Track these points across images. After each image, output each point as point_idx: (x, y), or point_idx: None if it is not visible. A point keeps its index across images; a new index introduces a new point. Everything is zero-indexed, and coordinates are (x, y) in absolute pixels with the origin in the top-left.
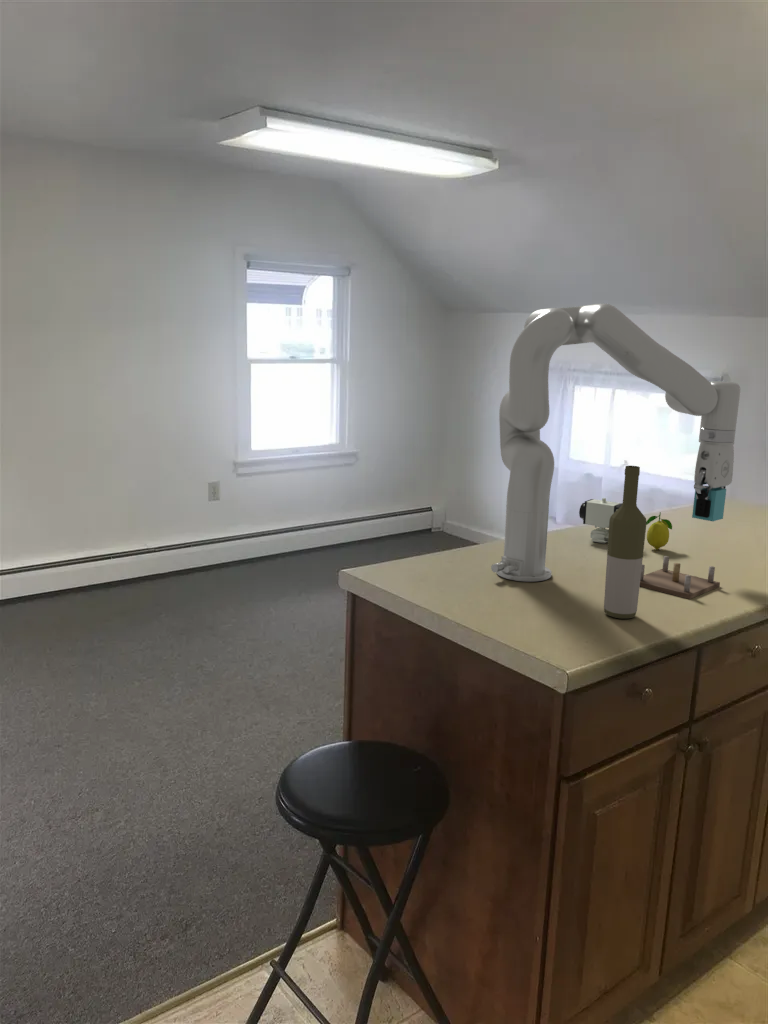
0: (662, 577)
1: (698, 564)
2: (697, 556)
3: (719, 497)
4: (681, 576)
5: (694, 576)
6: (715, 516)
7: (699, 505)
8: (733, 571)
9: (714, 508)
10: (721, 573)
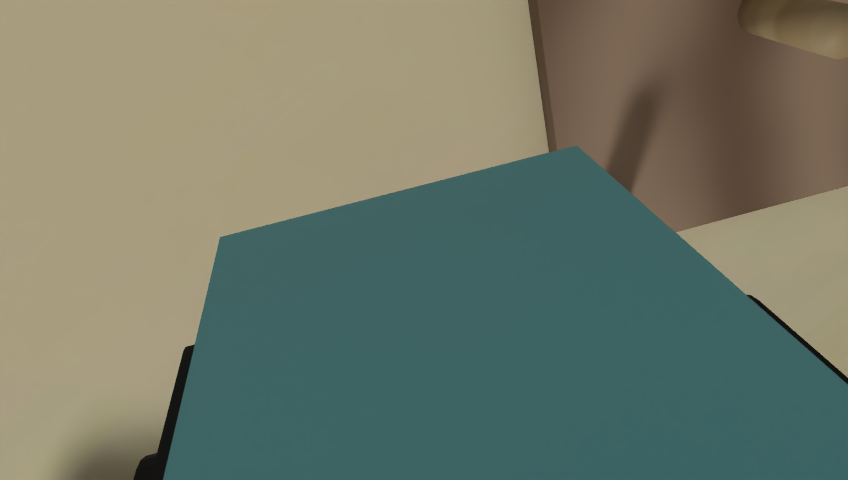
0: (753, 112)
1: (159, 302)
2: (4, 441)
3: (574, 440)
4: (625, 73)
5: (546, 29)
6: (526, 190)
7: None
8: (27, 66)
9: (677, 235)
10: (176, 69)
